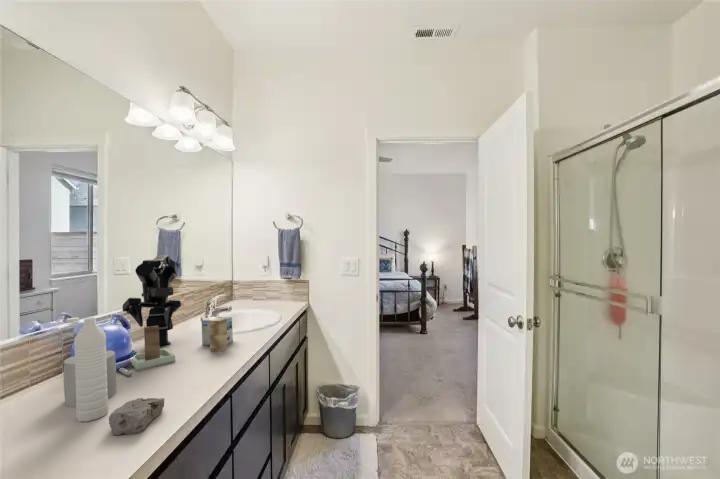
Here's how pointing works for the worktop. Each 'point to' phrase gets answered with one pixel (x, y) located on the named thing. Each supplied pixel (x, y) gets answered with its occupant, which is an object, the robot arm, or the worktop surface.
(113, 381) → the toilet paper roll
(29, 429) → the worktop surface
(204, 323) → the light bulb box
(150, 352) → the walnut block
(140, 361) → the tray
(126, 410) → the stone
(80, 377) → the water bottle
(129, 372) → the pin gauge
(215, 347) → the oak block
